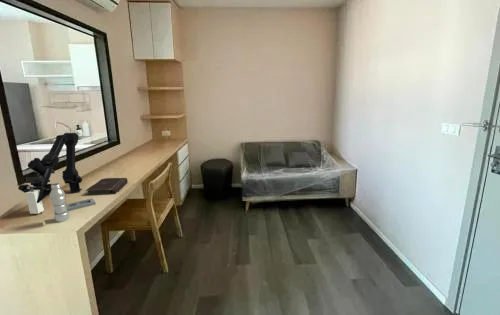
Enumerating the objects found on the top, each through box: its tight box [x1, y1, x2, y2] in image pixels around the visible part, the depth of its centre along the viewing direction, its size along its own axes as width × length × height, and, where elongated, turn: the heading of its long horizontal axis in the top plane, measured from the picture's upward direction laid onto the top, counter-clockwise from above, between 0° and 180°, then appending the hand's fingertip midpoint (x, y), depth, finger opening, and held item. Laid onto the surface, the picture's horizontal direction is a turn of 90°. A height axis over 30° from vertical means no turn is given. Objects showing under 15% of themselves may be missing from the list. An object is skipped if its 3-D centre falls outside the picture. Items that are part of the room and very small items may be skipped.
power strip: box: [65, 198, 97, 212], centre depth 156 cm, size 16×8×3 cm, turn 131°
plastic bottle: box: [49, 182, 70, 223], centre depth 138 cm, size 6×7×20 cm
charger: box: [25, 188, 45, 215], centre depth 148 cm, size 4×4×14 cm
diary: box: [84, 177, 129, 196], centre depth 185 cm, size 19×25×5 cm
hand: (33, 202), depth 147 cm, fingers closed on charger, 4 cm apart
